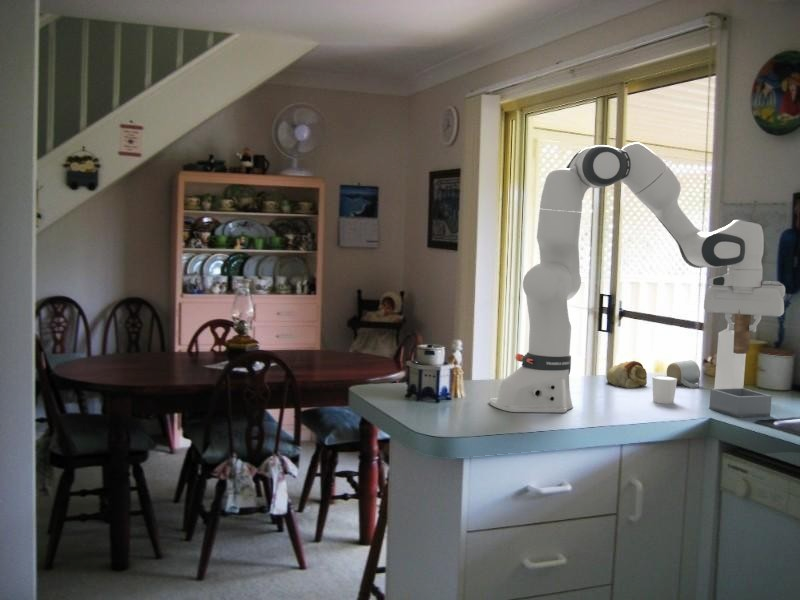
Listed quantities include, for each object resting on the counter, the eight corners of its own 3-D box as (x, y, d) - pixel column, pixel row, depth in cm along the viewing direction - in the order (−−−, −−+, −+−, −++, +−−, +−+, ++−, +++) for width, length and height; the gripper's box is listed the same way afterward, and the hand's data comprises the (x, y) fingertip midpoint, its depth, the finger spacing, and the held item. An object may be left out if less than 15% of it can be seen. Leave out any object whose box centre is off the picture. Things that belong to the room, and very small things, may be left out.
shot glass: (677, 404, 240) (678, 380, 240) (651, 403, 242) (653, 378, 241) (674, 400, 247) (676, 376, 246) (649, 398, 248) (651, 374, 248)
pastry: (643, 390, 262) (645, 364, 261) (602, 385, 267) (604, 360, 266) (649, 383, 275) (651, 359, 274) (610, 379, 280) (612, 355, 279)
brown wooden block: (737, 353, 231) (739, 309, 230) (733, 352, 233) (735, 309, 232) (749, 353, 231) (751, 309, 230) (745, 352, 233) (747, 309, 232)
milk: (713, 394, 260) (718, 322, 258) (725, 392, 263) (730, 321, 262) (731, 397, 255) (736, 324, 253) (743, 395, 258) (748, 323, 257)
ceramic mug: (663, 382, 277) (665, 359, 276) (684, 381, 280) (685, 358, 279) (686, 389, 267) (687, 365, 266) (706, 388, 270) (708, 364, 269)
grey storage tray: (737, 417, 227) (738, 397, 226) (709, 408, 237) (710, 389, 236) (770, 415, 230) (771, 395, 230) (741, 407, 241) (742, 388, 240)
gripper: (788, 281, 227) (785, 332, 228) (709, 278, 239) (707, 327, 240) (783, 282, 222) (780, 334, 223) (703, 279, 234) (701, 329, 235)
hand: (742, 331), depth 231 cm, fingers closed on brown wooden block, 4 cm apart
